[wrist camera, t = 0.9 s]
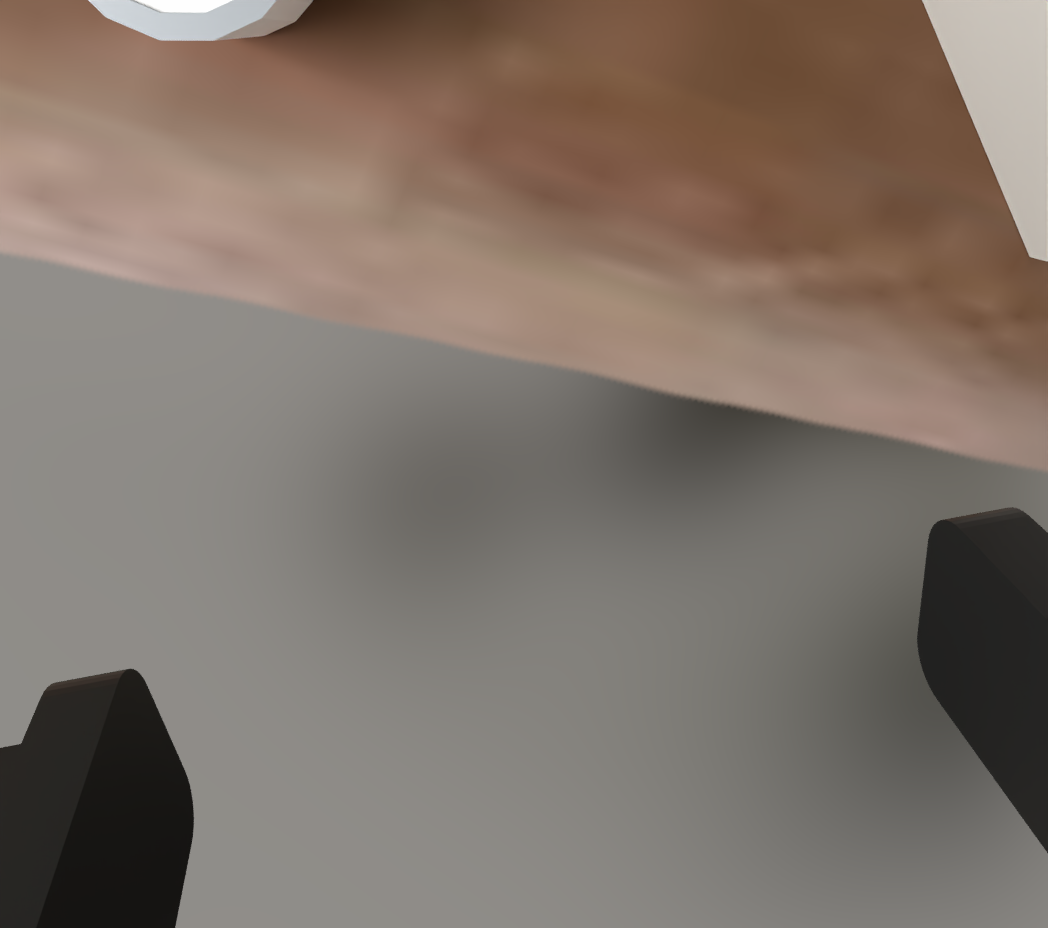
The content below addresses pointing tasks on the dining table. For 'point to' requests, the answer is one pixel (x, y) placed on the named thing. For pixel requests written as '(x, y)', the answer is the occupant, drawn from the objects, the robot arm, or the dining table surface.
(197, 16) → the shot glass
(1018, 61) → the white display stand
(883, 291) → the dining table surface
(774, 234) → the dining table surface
